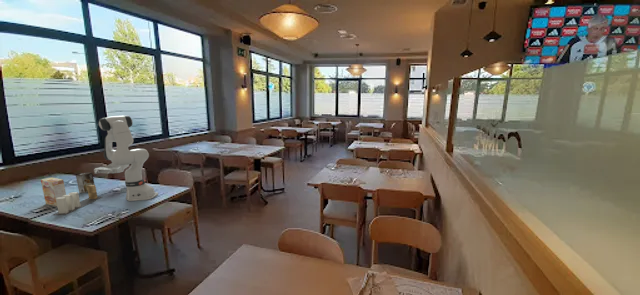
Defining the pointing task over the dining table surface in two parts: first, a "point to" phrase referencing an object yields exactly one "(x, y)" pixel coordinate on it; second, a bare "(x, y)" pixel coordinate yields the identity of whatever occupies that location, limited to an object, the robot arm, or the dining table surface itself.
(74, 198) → the tile
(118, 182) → the dining table surface
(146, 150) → the robot arm
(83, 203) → the mat
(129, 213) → the dining table surface
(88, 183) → the coffee box
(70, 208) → the tile
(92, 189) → the wooden block
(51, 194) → the coffeecake box
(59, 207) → the tile
